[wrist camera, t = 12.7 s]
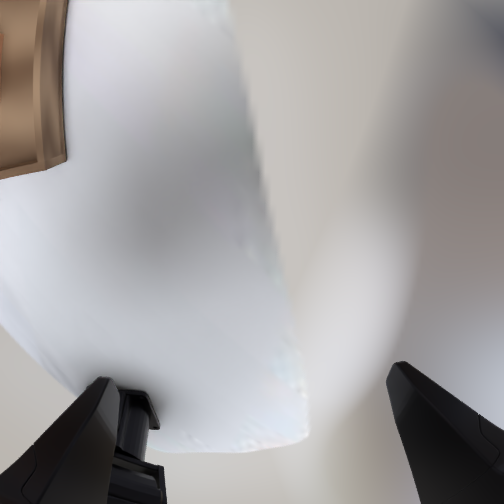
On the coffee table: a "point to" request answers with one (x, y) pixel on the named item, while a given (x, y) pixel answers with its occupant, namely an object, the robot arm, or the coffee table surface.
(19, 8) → the walnut tray
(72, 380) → the coffee table surface
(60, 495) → the robot arm
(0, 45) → the terracotta block
